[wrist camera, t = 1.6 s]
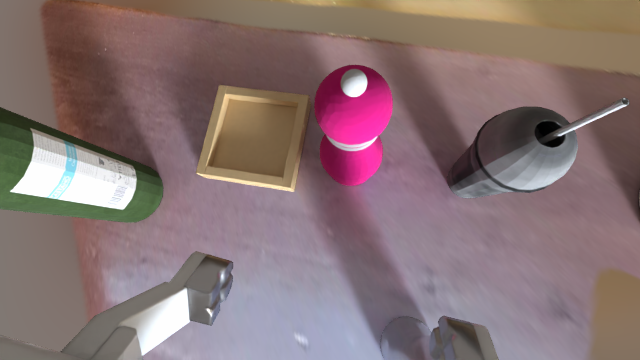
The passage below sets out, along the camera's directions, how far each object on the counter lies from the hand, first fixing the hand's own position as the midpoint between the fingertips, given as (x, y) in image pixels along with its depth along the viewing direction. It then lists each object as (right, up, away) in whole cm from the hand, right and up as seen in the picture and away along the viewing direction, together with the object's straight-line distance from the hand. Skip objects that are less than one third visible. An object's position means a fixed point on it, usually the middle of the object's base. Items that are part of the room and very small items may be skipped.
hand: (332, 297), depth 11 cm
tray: (-9, +10, +29) cm, 32 cm away
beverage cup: (+18, +4, +25) cm, 31 cm away
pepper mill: (+3, +7, +27) cm, 28 cm away
